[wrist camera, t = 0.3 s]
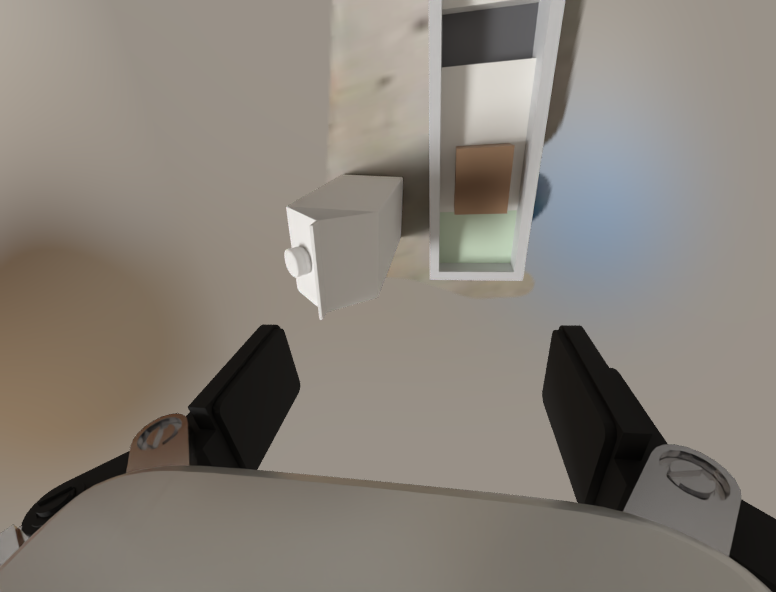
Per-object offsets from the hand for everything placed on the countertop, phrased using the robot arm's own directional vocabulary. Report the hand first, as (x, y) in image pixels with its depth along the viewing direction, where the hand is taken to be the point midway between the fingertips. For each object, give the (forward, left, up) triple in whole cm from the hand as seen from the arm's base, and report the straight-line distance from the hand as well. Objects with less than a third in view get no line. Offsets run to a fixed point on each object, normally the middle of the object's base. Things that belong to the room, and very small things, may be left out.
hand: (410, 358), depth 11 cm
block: (-5, +1, -27) cm, 27 cm away
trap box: (-7, -3, -29) cm, 30 cm away
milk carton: (+7, -3, -29) cm, 30 cm away
